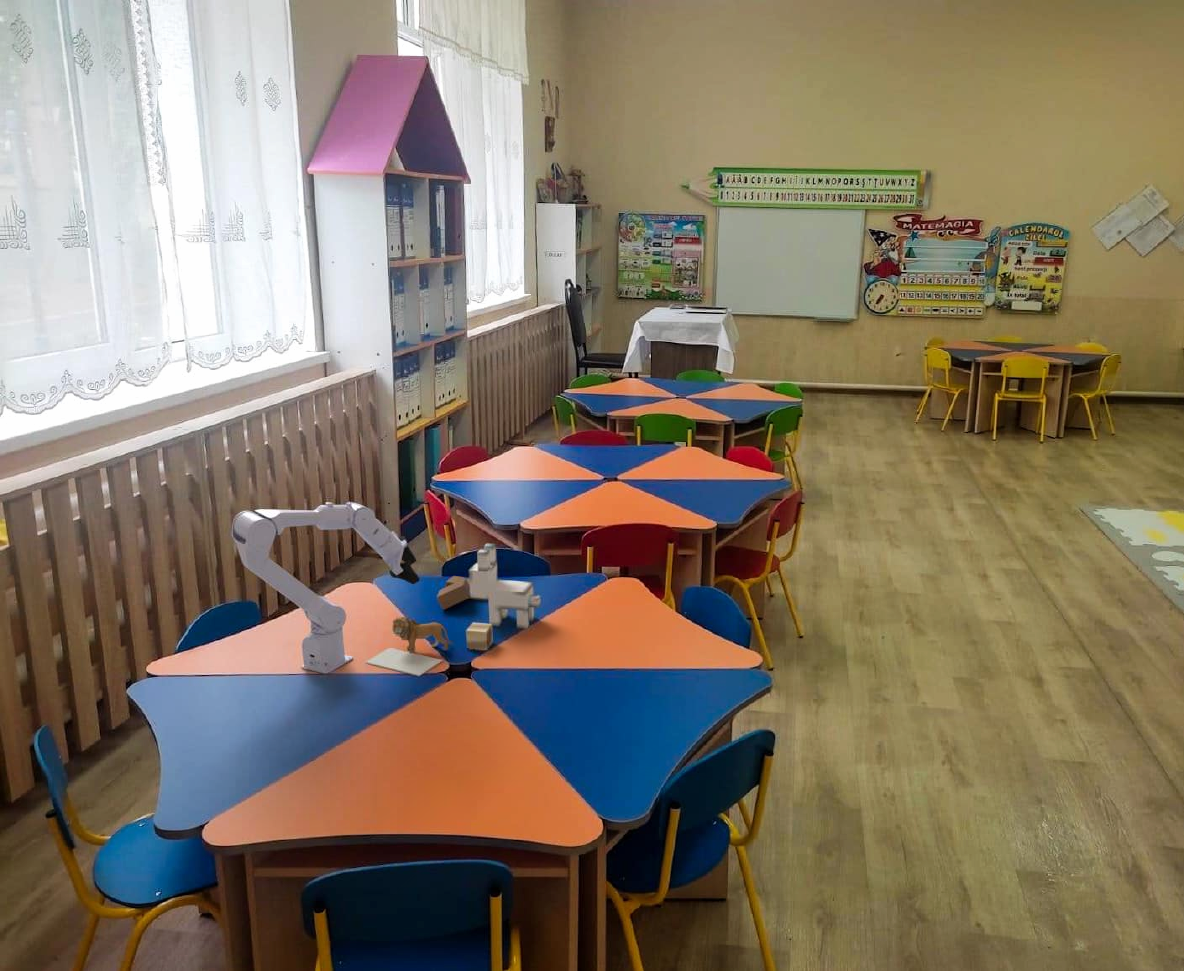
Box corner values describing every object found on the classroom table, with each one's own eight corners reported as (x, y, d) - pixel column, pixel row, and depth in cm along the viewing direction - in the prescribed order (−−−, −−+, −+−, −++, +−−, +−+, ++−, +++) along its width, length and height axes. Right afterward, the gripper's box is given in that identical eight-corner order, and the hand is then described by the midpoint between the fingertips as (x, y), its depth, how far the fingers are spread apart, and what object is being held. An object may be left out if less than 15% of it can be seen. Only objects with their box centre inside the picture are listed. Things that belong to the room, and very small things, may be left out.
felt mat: (419, 676, 225) (419, 675, 225) (365, 663, 232) (365, 662, 232) (442, 661, 233) (442, 660, 233) (389, 648, 240) (389, 647, 240)
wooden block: (493, 600, 279) (478, 616, 261) (448, 593, 280) (430, 608, 262) (496, 575, 278) (481, 589, 260) (451, 568, 279) (433, 581, 261)
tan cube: (486, 650, 238) (486, 632, 237) (467, 649, 239) (466, 630, 238) (493, 642, 243) (492, 624, 242) (473, 641, 244) (472, 622, 243)
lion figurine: (394, 656, 234) (392, 621, 233) (392, 649, 239) (390, 614, 237) (455, 649, 238) (454, 614, 237) (451, 642, 243) (450, 608, 242)
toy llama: (535, 629, 250) (533, 556, 245) (471, 624, 254) (467, 551, 249) (543, 618, 257) (541, 546, 252) (481, 613, 261) (478, 542, 256)
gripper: (397, 549, 230) (431, 582, 238) (391, 513, 241) (424, 546, 249) (373, 564, 231) (407, 597, 239) (368, 528, 242) (401, 560, 250)
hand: (414, 572), depth 244 cm, fingers open, 7 cm apart
